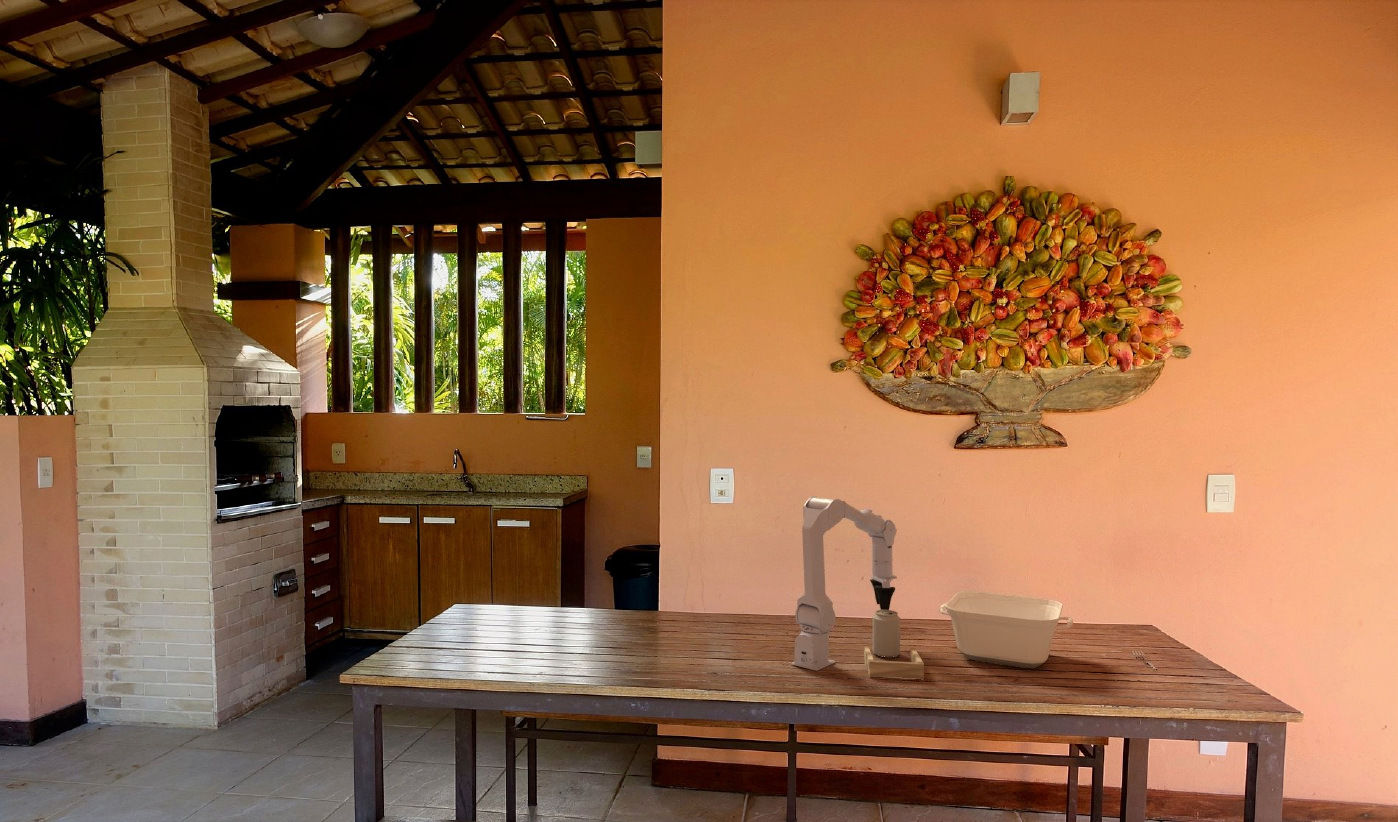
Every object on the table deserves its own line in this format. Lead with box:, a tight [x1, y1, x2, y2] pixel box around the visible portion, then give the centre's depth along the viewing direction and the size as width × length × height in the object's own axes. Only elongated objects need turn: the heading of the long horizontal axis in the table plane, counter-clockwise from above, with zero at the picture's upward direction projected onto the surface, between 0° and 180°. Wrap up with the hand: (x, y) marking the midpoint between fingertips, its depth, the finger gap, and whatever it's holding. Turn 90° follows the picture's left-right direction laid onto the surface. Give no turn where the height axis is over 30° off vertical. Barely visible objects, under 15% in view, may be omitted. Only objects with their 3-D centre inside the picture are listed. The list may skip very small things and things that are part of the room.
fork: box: [1132, 650, 1157, 670], centre depth 207 cm, size 3×24×2 cm, turn 168°
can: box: [871, 609, 901, 657], centre depth 216 cm, size 8×8×12 cm
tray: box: [863, 645, 925, 680], centre depth 203 cm, size 14×13×4 cm
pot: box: [939, 590, 1074, 669], centre depth 215 cm, size 34×29×15 cm
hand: (882, 607), depth 225 cm, fingers open, 7 cm apart
